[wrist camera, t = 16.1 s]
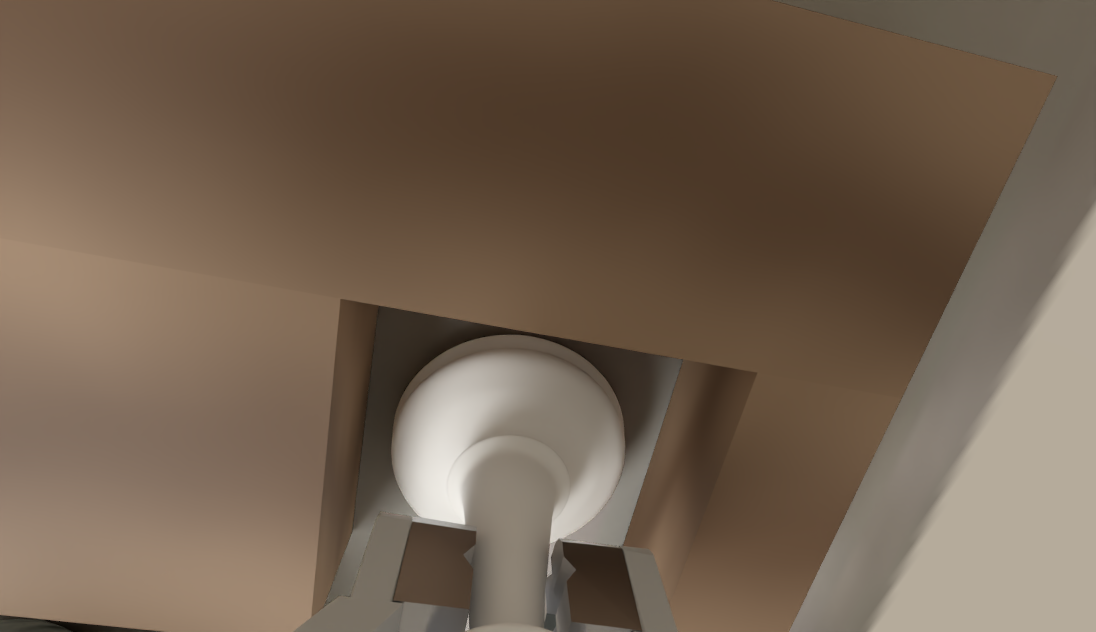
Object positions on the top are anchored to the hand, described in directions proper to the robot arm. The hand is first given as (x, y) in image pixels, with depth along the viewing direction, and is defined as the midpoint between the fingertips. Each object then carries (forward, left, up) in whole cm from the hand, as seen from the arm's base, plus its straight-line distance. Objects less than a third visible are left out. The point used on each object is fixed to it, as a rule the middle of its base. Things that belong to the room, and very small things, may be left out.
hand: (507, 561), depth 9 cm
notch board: (+3, +4, -4) cm, 6 cm away
